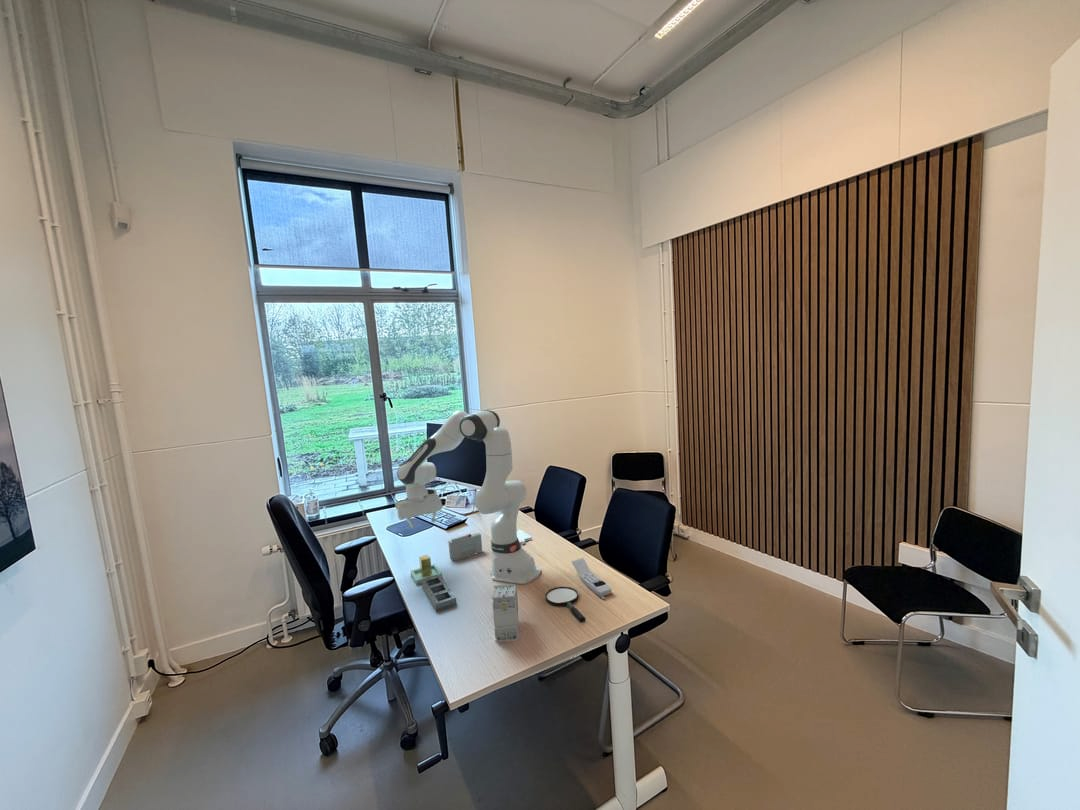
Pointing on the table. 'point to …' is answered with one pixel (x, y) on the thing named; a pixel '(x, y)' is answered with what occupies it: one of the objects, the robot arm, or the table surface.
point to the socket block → (438, 593)
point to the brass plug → (425, 566)
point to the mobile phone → (591, 579)
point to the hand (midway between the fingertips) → (423, 524)
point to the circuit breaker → (505, 612)
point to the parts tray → (418, 578)
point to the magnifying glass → (564, 600)
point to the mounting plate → (523, 536)
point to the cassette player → (465, 546)
